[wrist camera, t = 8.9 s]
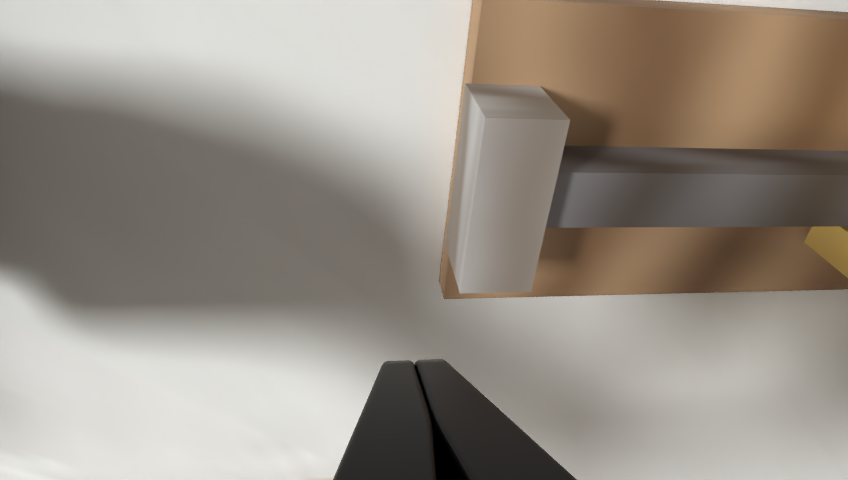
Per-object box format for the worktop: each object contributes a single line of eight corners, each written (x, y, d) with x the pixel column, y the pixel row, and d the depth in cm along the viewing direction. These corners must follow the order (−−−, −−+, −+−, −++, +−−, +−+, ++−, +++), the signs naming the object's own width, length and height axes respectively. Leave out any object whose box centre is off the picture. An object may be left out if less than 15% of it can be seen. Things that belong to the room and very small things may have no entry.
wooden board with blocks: (434, 280, 24) (467, 414, 18) (467, -12, 18) (532, 54, 12) (924, 270, 27) (1077, 380, 22) (1089, 27, 21) (1360, 91, 16)
